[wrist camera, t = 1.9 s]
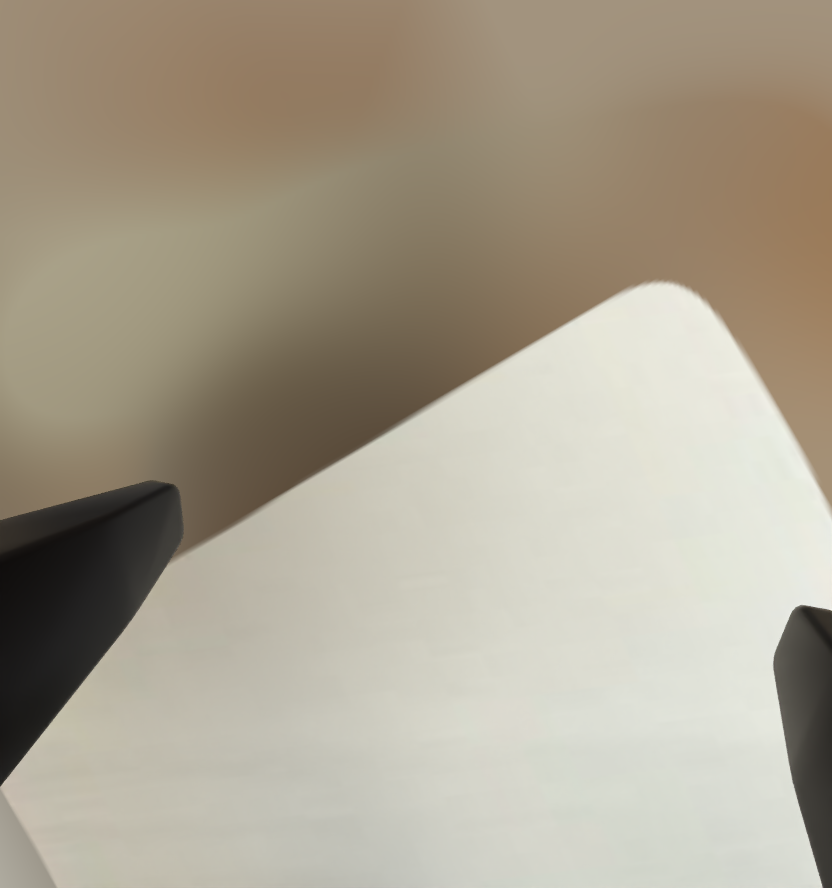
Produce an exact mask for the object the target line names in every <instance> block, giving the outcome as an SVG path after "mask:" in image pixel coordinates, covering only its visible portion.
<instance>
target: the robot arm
mask: <svg viewBox="0 0 832 888" xmlns="http://www.w3.org/2000/svg"><path fill="white" fill-rule="evenodd" d="M183 533H184V525H183V516H182V508H181V499H180V492H179V490H178V488H177V487H176V486H175V485H173V484H169V483H164V482H159V481H146V482H142V483H139V484H135V485H131V486H128V487H124V488H120V489H116V490H113V491H108V492H105V493H101V494H98V495H93V496H90V497H86V498H82V499H78V500H75V501H71V502H67V503H64V504H60V505H56V506H52V507H48V508H44V509H41V510H37V511H33V512H29V513H26V514H22V515H18V516H14V517H11V518H7V519H3V520H0V786H1V785H2V784H3V783H4V781H5V780H6V779H7V777H8V776H9V775H10V774H11V772H12V771H13V770H14V769H15V767H16V766H17V765H18V764H19V762H20V761H21V760H22V759H23V757H24V756H25V755H26V753H27V752H28V751H29V750H30V748H31V747H32V746H33V745H34V743H35V742H36V741H37V740H38V738H39V737H40V736H41V734H42V733H43V732H44V731H45V729H46V728H47V727H48V726H49V724H50V723H51V722H52V721H53V719H54V718H55V717H56V716H57V714H58V713H59V712H60V710H61V709H62V708H63V707H64V705H65V704H66V703H67V702H68V700H69V699H70V698H71V697H72V695H73V694H74V693H75V691H76V690H77V689H78V688H79V686H80V685H81V684H82V683H83V681H84V680H85V679H86V678H87V676H88V675H89V674H90V673H91V671H92V670H93V669H94V667H95V666H96V665H97V664H98V662H99V661H100V660H101V659H102V657H103V656H104V655H105V654H106V652H107V651H108V650H109V648H110V647H111V646H112V645H113V643H114V642H115V641H116V640H117V638H118V637H119V636H120V635H121V633H122V632H123V631H124V629H125V628H126V627H127V625H128V624H129V623H130V621H131V620H132V618H133V617H134V615H135V614H136V612H137V611H138V610H139V608H140V607H141V605H142V603H143V602H144V600H145V599H146V597H147V596H148V594H149V592H150V591H151V589H152V588H153V586H154V585H155V583H156V581H157V580H158V578H159V577H160V575H161V574H162V572H163V570H164V569H165V567H166V566H167V564H168V563H169V561H170V559H171V558H172V556H173V555H174V553H175V552H176V550H177V548H178V547H179V545H180V543H181V541H182V538H183ZM773 668H774V675H775V681H776V687H777V693H778V699H779V705H780V711H781V717H782V723H783V729H784V735H785V741H786V748H787V754H788V760H789V765H790V770H791V775H792V780H793V784H794V788H795V792H796V795H797V799H798V803H799V806H800V810H801V813H802V817H803V820H804V824H805V827H806V831H807V834H808V838H809V841H810V845H811V848H812V851H813V855H814V858H815V862H816V865H817V869H818V872H819V876H820V879H821V883H822V886H823V888H832V611H831V610H827V609H822V608H816V607H811V606H806V605H800V606H798V607H796V608H795V609H794V610H793V611H792V613H791V615H790V617H789V620H788V622H787V625H786V627H785V629H784V632H783V634H782V637H781V639H780V641H779V644H778V646H777V649H776V651H775V655H774V662H773Z"/></svg>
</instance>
